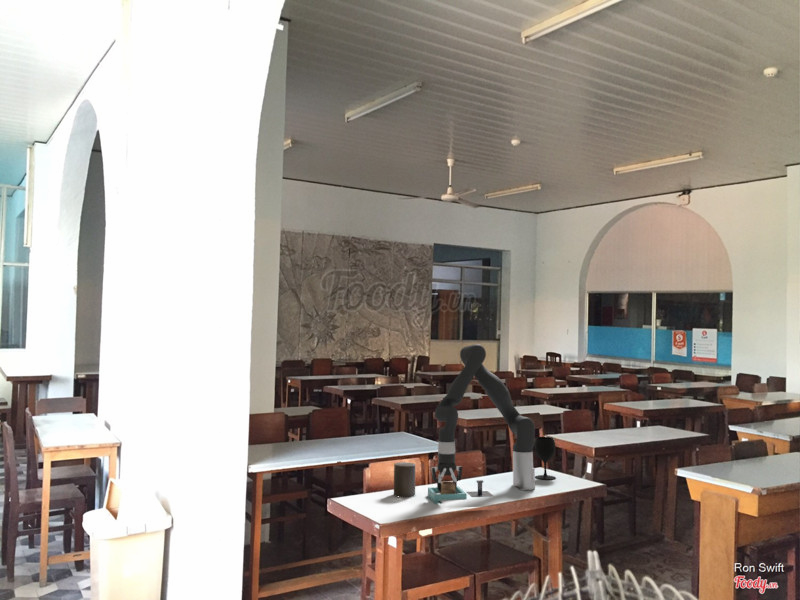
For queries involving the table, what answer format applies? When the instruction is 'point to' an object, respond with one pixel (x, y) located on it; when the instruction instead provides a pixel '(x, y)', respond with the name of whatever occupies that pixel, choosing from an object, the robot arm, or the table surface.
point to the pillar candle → (404, 479)
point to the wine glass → (545, 454)
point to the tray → (445, 495)
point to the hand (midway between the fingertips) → (446, 490)
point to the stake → (480, 491)
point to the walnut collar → (447, 487)
